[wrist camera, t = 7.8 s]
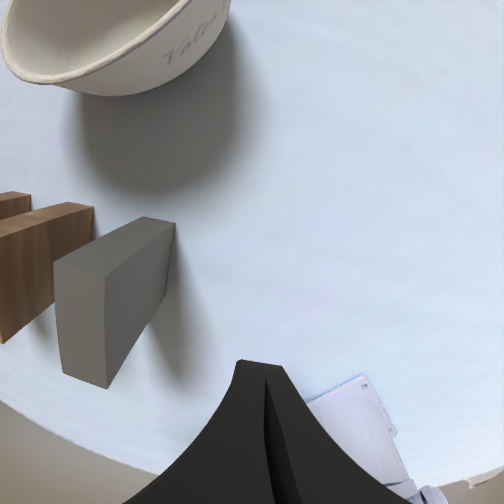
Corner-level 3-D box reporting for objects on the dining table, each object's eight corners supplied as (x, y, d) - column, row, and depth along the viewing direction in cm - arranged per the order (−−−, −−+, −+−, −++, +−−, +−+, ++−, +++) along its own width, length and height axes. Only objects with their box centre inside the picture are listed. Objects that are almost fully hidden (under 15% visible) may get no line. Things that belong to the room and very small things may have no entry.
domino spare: (175, 223, 17) (104, 276, 8) (164, 296, 18) (107, 389, 9) (142, 216, 17) (53, 262, 8) (135, 288, 18) (62, 372, 9)
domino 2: (93, 206, 17) (-11, 241, 8) (88, 276, 18) (3, 344, 9) (68, 201, 17) (-37, 232, 8) (64, 269, 18) (-24, 329, 9)
